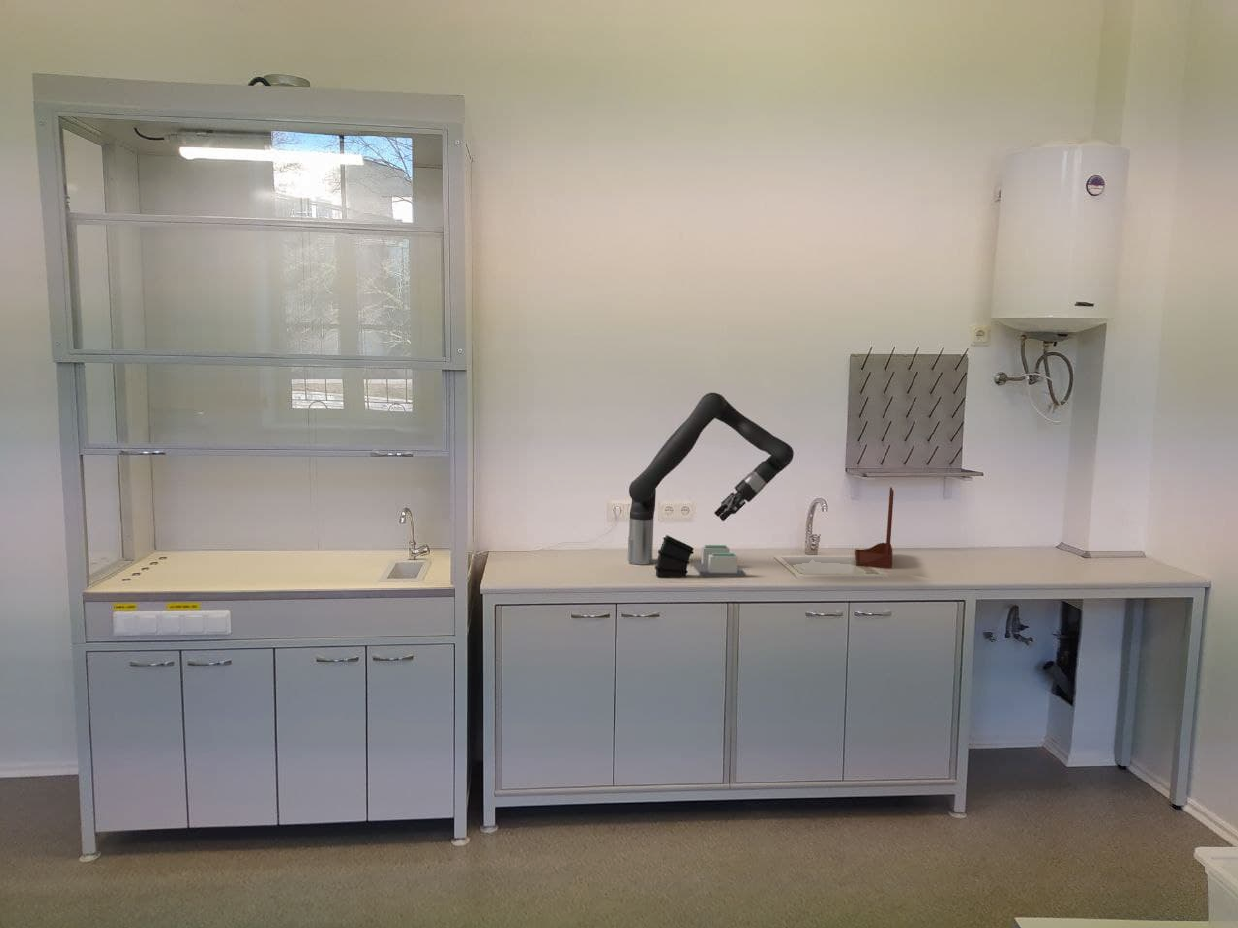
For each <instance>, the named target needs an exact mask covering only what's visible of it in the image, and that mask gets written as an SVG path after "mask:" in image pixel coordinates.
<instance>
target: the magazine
mask: <svg viewBox="0 0 1238 928" xmlns="http://www.w3.org/2000/svg"><path fill="white" fill-rule="evenodd" d="M657 553H658V556H657V561H656V565H654V569H655V577H657V578H658V579H660V578H661V579H662V578H686V577H687V574H688V570H687V568H688V564H690V562H689V560H690V557H691V555H693V554H694V548H693V546H691V545H689V544H686V543H684V542H682V541H680V540H678V539H676V538H674V537H672V536H670V535H668V534H667V535H665V537H663V542H662V543H661V545H660V549H659V550H658V551H657Z"/></svg>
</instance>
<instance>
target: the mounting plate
mask: <svg viewBox="0 0 1238 928" xmlns="http://www.w3.org/2000/svg"><path fill="white" fill-rule="evenodd" d="M738 559H739V558H738V556H737V555H736V554H735V553H734V552H730V548H729V547H728V546H727V545H725V544H724V545H723V544H721V545H720V544H717V545H715V544H714V545H713V544H708V545H707V544H704V546H702V547H701V560H700V561H693V565H692V566H693V567H694V569H695V570H696V571H697V573H698V574H699V576H700V577H701V578H746V572H744V571H743V569H742V568H741V567H740V566H739V565H738Z"/></svg>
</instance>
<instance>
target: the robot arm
mask: <svg viewBox="0 0 1238 928" xmlns="http://www.w3.org/2000/svg"><path fill="white" fill-rule="evenodd" d="M714 419H716V420H718V421H720V422H723V424H726V425H727V426H728V427H730V428H732V429H733V430H734V431H735V432H737V433H738V434H739V435H740V436H741V437H742V438H743V439H744V440H746V441H747V442H748V443H750V444H751V445H753V447H755V448H757V449H758V450H760V451H762V452H764V453H765V452H766V454H768V455H770V456H769V457H767V459H766V460H764V461H762V462H761V463H759V464H758V465H757V466H756V467H755V468H754V469H753V470H752V471H750V472H749V473H748V474H746V476H745V477H744V478H742V480H741V481H739V482H738V483H737V484H736V485H735V486H734V490H735V491H736V492H735V493H734V492H731V493H730V494H729V495H728V496H726V498H724V500H723V501H721V502H720V504H721V505H720V506H719V507H718V508H717V509H716V510H715V511H714V512H713V513H714V515H716V517H718V518H719V519H720V521H722V522H724V521H726V520H727V519H728V518H729V517H730V516H731V515H735V514H737V513H738V512H739V510H741V508H742V507H743V506H745V505H746V502H748V503H750V502H752V500H753V499H754V498H755V497H756V496H758V494H759V493H761V492H762V491H763V490H764V488H765V487H766V486H767V485H768V483H769V484H770V482H771V481H772V480H773V479H774V478H775V477H776V475H778V474H779V473H780V472H782V471H784V470H785V469H786V468H787V466H789V465H790V464H791V462H792V461H793V460H794V455H795V452H794V449H793V447H792V446H791V445H790V444H788V443H787V442H785V441H784V440H782V439H780V438H778V437H776V436H774V435H773V434H771V433H770V432H769V431H768V430H766V429H765V428H763V427H762V426H760V425H759V424H757V423H756V422H754V421H753V420H751V419H750V418H749V417H746V416H745V415H743V414H742V413H741V412H740V411H738V410H737V409H736V408H735V407H734V406H733V405H731V404H730V402H729V401H728V400H726V398H725V397H724V396H723V395H722V394H720V393H718V392H708V393H706V394H705V395H703V396H702V397H701V399H700V400H699V401H698V403H697V404H696V406H695V407H694V409H693V411H691V414H690V415H689V416H688V417H687V418H686V419H685V421H684V422H683V423H682V424H681V425H680V426H679V427H678V428H677V429H676V430H675V431H674V432H673V434H671V436H670V437H669V438H668V439H667V441H665V443H664V444H663V445H662V446H661V448H660V449H659V450H658V452H657V453H656V455H655V456H654V458H653V459H652V461H651V462H650V463H649V464H648V466H647V467H646V468H645V469H644V470H643V471H642V472H641V473H640V474H639V475H638V476H637V477H636V478H635V479H634V480H632V482H631V483H630V484H629V487H628V494H629V497H630V498H631V506H630V510H629V532H628V533H629V534H628V538H627V539H628V540H627V542H628V543H627V562H628V564H629V565H630V564H632V565H643V566H645V565H650V564H653V548H654V547H653V546H654V545H653V544H654V543H653V542H654V514H655V511H656V510H655V509H656V494H657V493H656V492H657V491H656V489H657V487H658V486H659V485H660V484H661V482H662V481H663V480H664V478H665V477H666V476H667V475H669V474H670V473H671V472H673V470H674V469H675V468H677V467H678V466H679V465H680V464H681V463H682V462H683V461H684V459H685V458H686V457H687V456H688V454H690V452H691V451H692V449H693V448H694V447H695V445H696V443H697V441H698V439H699V438H700V435H701V434H702V432H703V431H704V430H705V428H706V427H707V426H709V424H710V423H711V422H713V420H714Z"/></svg>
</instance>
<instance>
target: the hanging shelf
mask: <svg viewBox="0 0 1238 928" xmlns="http://www.w3.org/2000/svg"><path fill="white" fill-rule="evenodd" d="M888 493H889V495H888V496H889V497H888V508H887V509H888V510H887V526H886V536H885V537H886V539H885V542H881V543H880V542H878V543H877V544H875V545H873V546H872V547H869V548H867V549H866V548H865V549H854V556H855V565H856V567H866V568H877V569H889V570H892V567H893V547H892V544H891V535H892V524H893V523H892V522H893V507H894V506H893V505H894V493H895V492H894V489H893V488H892V487H891V486H890V487H889V492H888Z"/></svg>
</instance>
